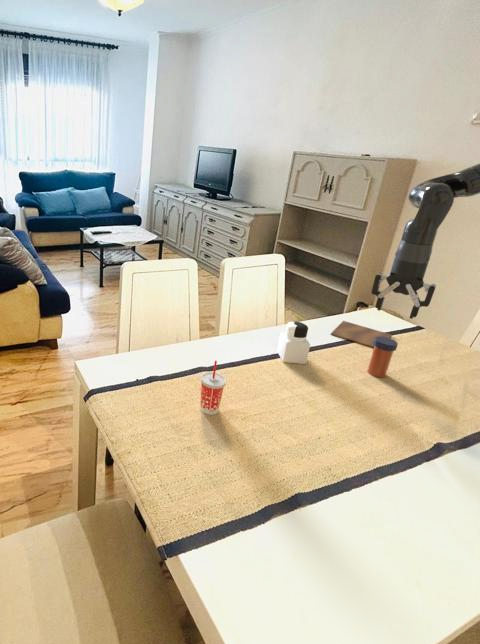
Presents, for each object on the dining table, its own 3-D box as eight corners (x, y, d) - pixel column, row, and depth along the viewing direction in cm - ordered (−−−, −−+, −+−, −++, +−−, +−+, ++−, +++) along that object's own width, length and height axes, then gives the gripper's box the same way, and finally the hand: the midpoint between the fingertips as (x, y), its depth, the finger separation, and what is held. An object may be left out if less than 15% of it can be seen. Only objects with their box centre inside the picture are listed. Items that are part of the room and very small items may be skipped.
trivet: (390, 335, 142) (390, 334, 141) (381, 350, 131) (381, 349, 130) (342, 322, 152) (343, 320, 152) (330, 334, 141) (330, 333, 140)
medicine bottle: (298, 353, 127) (305, 320, 123) (306, 364, 120) (314, 330, 116) (276, 351, 127) (282, 318, 123) (282, 362, 121) (289, 328, 117)
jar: (387, 373, 117) (396, 342, 113) (383, 379, 114) (393, 348, 110) (369, 367, 120) (378, 336, 116) (365, 373, 117) (374, 342, 113)
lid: (397, 346, 114) (399, 341, 113) (393, 353, 110) (395, 347, 109) (375, 340, 117) (377, 334, 117) (371, 346, 113) (373, 340, 113)
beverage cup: (221, 404, 100) (229, 357, 95) (221, 419, 94) (228, 369, 90) (198, 399, 101) (203, 352, 97) (196, 413, 96) (202, 365, 91)
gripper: (446, 261, 102) (427, 317, 108) (383, 250, 111) (369, 303, 117) (443, 266, 97) (423, 325, 103) (378, 255, 106) (363, 309, 112)
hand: (394, 313), depth 110 cm, fingers open, 7 cm apart
